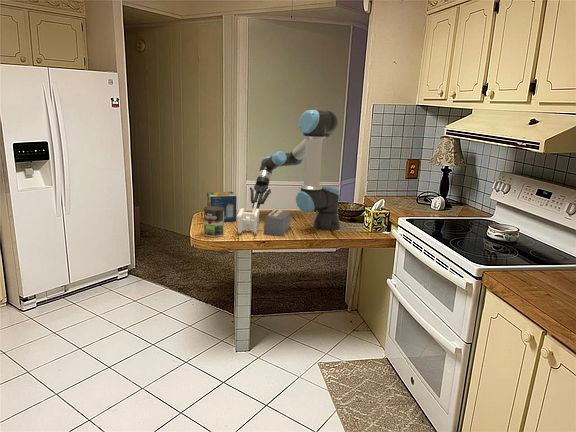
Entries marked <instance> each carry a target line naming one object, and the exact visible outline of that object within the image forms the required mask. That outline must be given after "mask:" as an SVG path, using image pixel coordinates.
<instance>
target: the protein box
mask: <svg viewBox="0 0 576 432" xmlns="http://www.w3.org/2000/svg"><path fill="white" fill-rule="evenodd" d="M237 201H238V200H237V195H236V194H235V193H234V192H233V191H219V192H207V193H206V206H221V207H224V223H232V222H233V223H235V222H236V223H237Z"/></svg>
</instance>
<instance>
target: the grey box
mask: <svg viewBox="0 0 576 432" xmlns="http://www.w3.org/2000/svg"><path fill="white" fill-rule="evenodd" d="M291 218H292V211H287V210H279V209H273V210H272V211H271V212H269V213H268V214H266V215H265V217H264V220H263V221H264V222H263V234H264V235H267V236H268V235H269V236H270V235H271V236H278V237H283V236H284V235H285V234H286V232H287V231H288V230H289V229H290V228H291V221H292V219H291Z"/></svg>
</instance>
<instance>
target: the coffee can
mask: <svg viewBox="0 0 576 432" xmlns="http://www.w3.org/2000/svg"><path fill="white" fill-rule="evenodd" d="M203 211H204V212H203V213H204V214H203V216H204V217H203V220H204V221H203V222H204V223H203V225H204V226H203V232H204V233H203V235H204V236H206V237H208V238H219V237H222V236H224V234H225V233H224V232H225V229H224V228H225V222H224V207H221V206H207V205H206V206H204V207H203Z"/></svg>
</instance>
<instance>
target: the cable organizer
mask: <svg viewBox="0 0 576 432" xmlns="http://www.w3.org/2000/svg"><path fill="white" fill-rule="evenodd" d="M236 219H237V234H239V235H241V234H242V232H243V231H246V230H250V232H253V234H254V235H257V234H258V232H259V227H260V208H259V209H256V211H255V213H252V212H249V211H248V212H247V211H245V208H244V207H243V208H240V209H239V211H238V213H236Z"/></svg>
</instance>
